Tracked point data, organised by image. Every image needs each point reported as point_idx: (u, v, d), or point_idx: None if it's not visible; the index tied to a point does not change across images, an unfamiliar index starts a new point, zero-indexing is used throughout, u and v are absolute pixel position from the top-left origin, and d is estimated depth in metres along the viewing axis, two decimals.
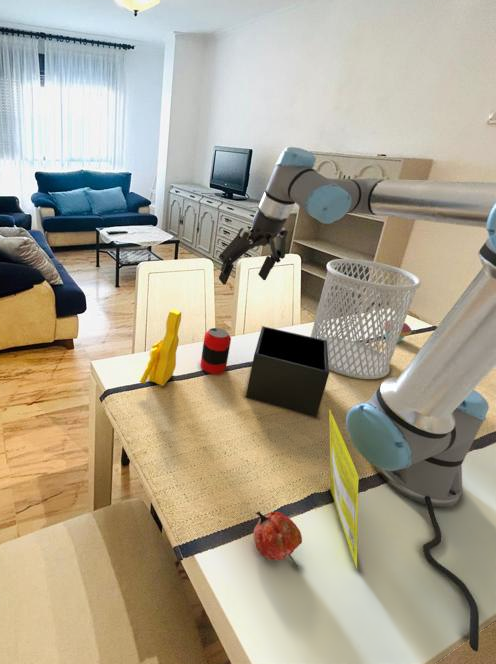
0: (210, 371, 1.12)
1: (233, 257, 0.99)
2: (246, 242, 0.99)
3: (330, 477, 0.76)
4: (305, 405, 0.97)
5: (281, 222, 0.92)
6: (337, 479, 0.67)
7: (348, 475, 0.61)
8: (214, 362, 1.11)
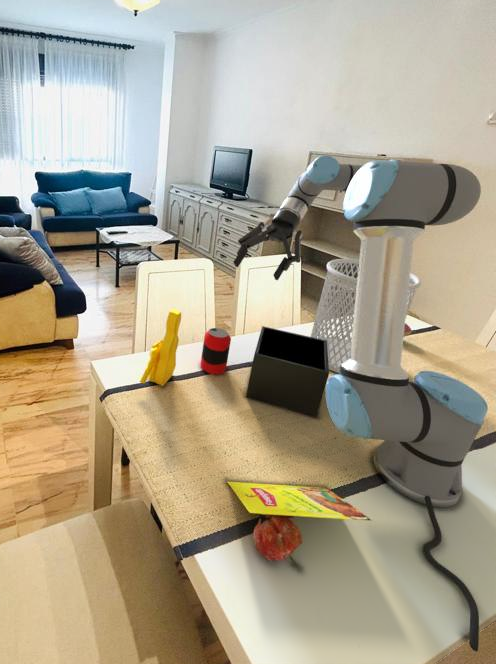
0: (210, 371, 1.12)
1: None
2: None
3: (307, 487, 0.78)
4: (305, 405, 0.97)
5: (286, 210, 1.16)
6: None
7: None
8: (214, 362, 1.11)
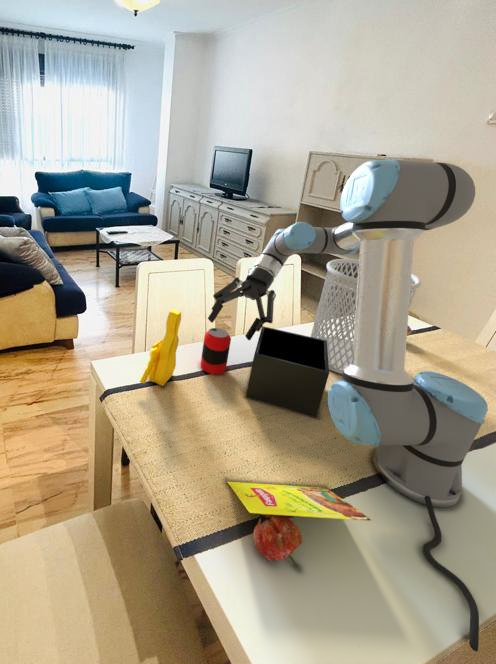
0: (210, 371, 1.12)
1: None
2: None
3: (307, 487, 0.78)
4: (305, 405, 0.97)
5: (260, 268, 1.17)
6: None
7: None
8: (214, 362, 1.11)
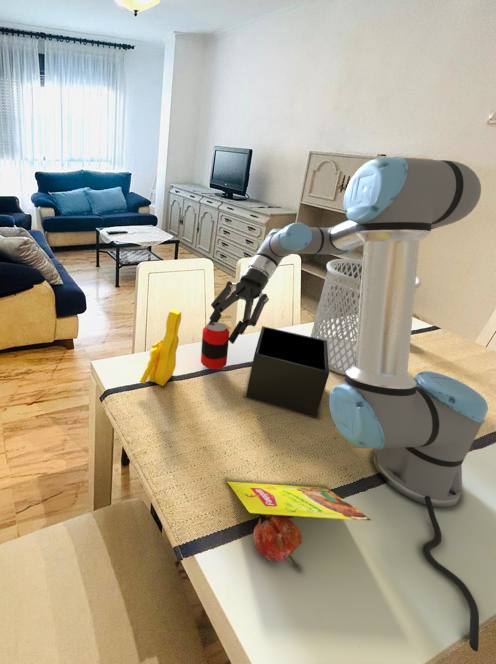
0: (210, 366, 1.11)
1: None
2: None
3: (307, 487, 0.78)
4: (305, 405, 0.97)
5: (254, 269, 1.14)
6: None
7: None
8: (214, 356, 1.10)
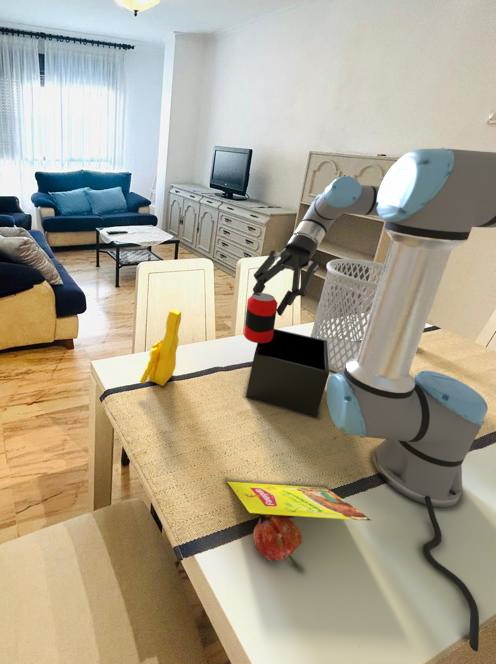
0: (256, 340, 1.02)
1: None
2: None
3: (307, 487, 0.78)
4: (305, 405, 0.97)
5: (302, 235, 1.05)
6: None
7: None
8: (260, 329, 1.01)
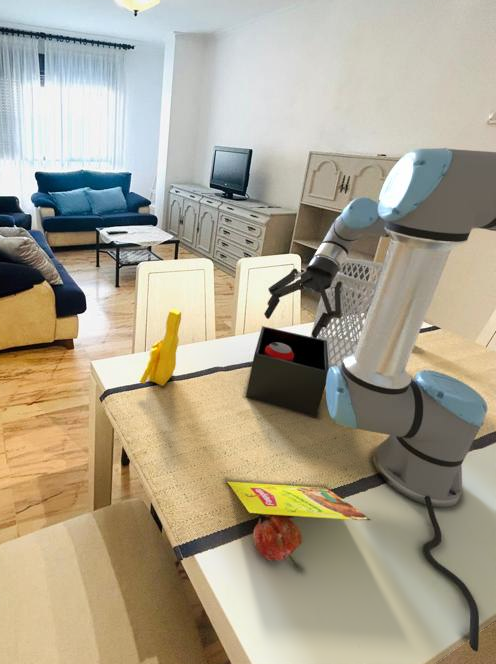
0: None
1: None
2: None
3: (307, 487, 0.78)
4: (305, 405, 0.97)
5: (324, 257, 1.05)
6: None
7: None
8: None
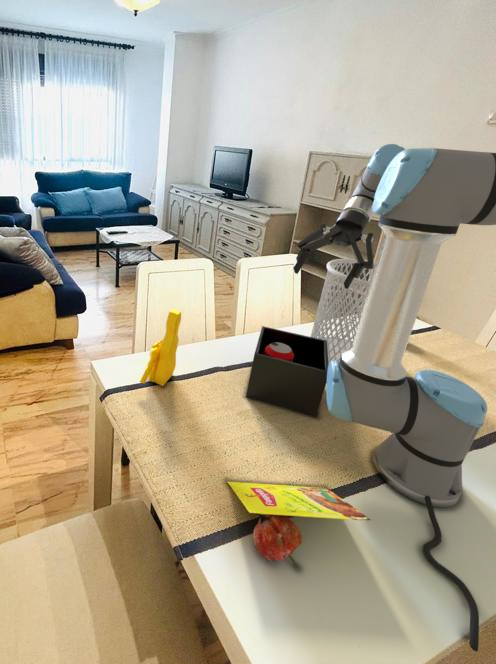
0: None
1: None
2: None
3: (307, 487, 0.78)
4: (305, 405, 0.97)
5: (354, 210, 1.04)
6: None
7: None
8: None
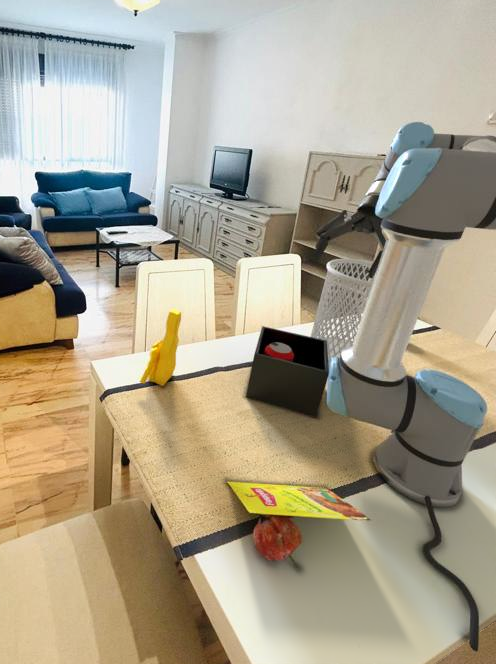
0: None
1: None
2: None
3: (307, 487, 0.78)
4: (305, 405, 0.97)
5: (378, 195, 0.98)
6: None
7: None
8: None
